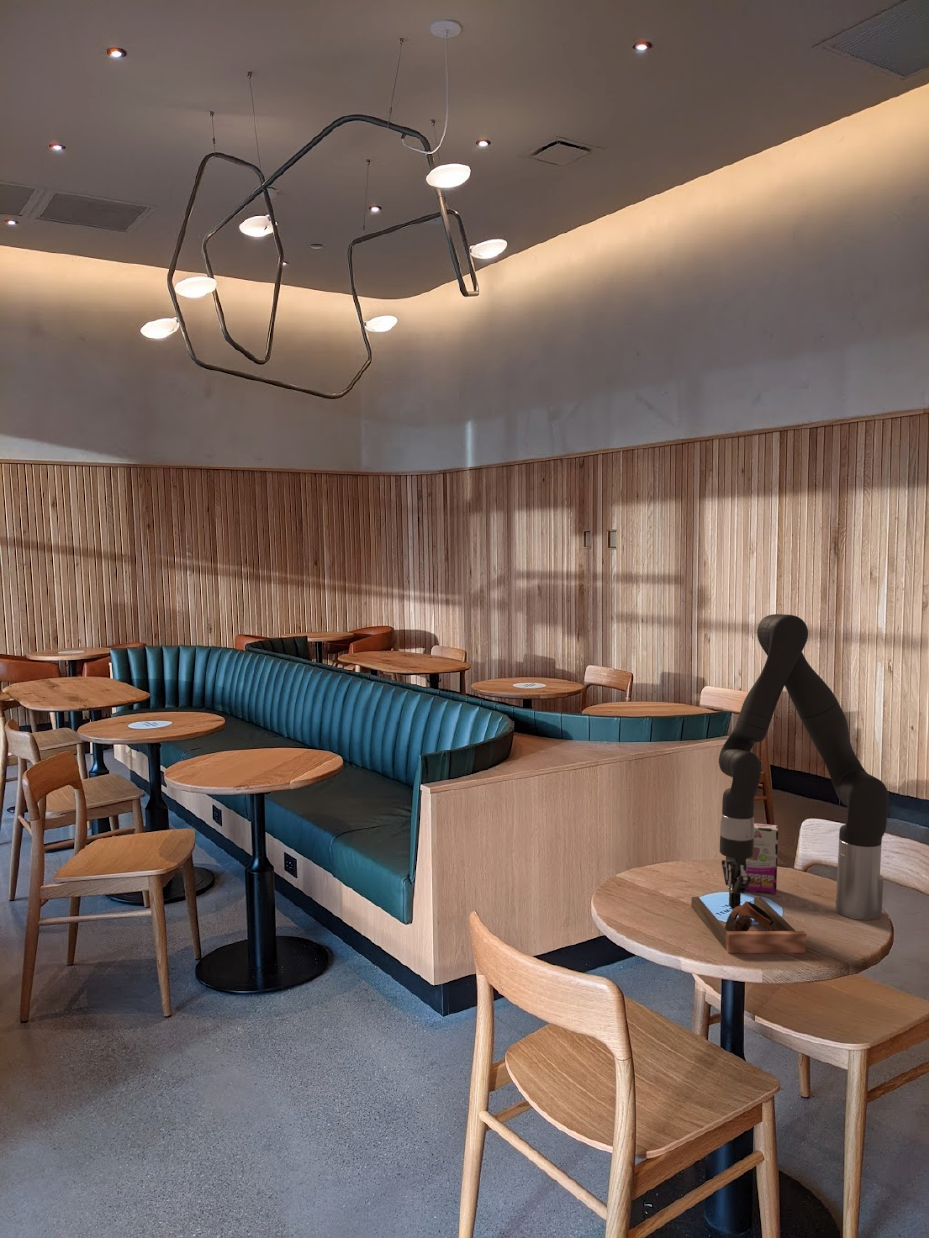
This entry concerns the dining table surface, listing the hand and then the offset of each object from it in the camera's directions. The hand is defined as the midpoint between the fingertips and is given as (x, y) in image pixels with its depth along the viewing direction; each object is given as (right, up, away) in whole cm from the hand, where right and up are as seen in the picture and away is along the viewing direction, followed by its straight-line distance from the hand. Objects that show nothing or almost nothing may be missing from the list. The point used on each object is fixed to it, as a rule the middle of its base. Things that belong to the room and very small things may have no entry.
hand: (734, 907), depth 219 cm
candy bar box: (+10, -1, +18) cm, 21 cm away
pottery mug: (-1, -3, -12) cm, 12 cm away
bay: (0, -2, -7) cm, 7 cm away
